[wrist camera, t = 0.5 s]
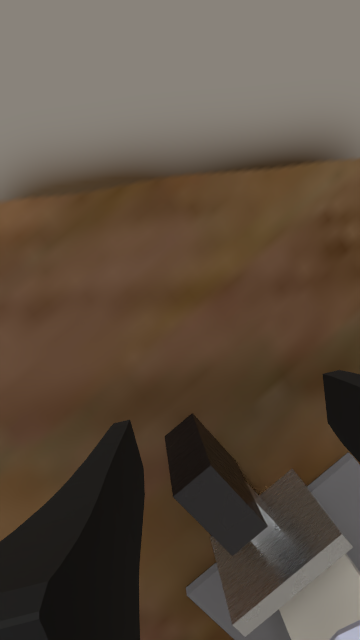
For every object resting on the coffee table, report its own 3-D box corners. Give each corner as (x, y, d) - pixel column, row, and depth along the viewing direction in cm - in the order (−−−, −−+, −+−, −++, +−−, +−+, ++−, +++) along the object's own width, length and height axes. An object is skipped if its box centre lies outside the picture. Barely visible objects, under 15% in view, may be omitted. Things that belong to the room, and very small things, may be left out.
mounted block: (219, 547, 24) (245, 636, 18) (134, 461, 22) (131, 531, 16) (301, 478, 24) (353, 547, 18) (222, 387, 22) (252, 430, 16)
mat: (291, 685, 27) (294, 695, 26) (185, 587, 24) (187, 595, 24) (437, 564, 27) (444, 571, 26) (348, 452, 24) (353, 456, 23)
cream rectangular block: (281, 596, 25) (346, 749, 17) (267, 582, 24) (328, 731, 16) (341, 546, 24) (435, 676, 17) (328, 531, 24) (418, 657, 16)
